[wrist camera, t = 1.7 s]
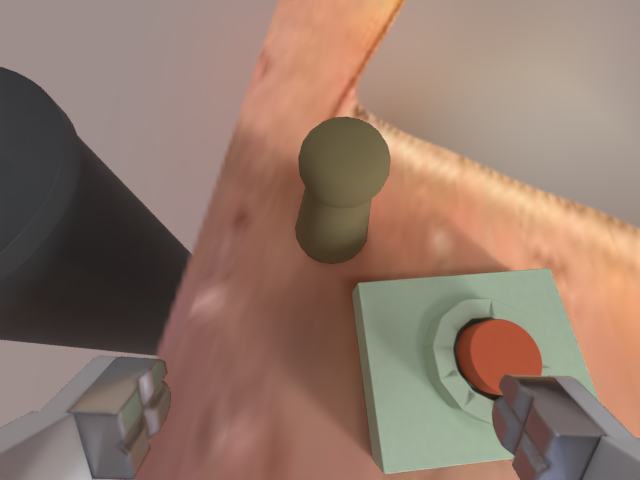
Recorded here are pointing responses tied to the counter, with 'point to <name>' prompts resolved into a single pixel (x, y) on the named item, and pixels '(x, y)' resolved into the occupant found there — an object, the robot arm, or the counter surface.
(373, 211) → the counter surface
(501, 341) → the release button
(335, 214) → the cork
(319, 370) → the counter surface
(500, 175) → the counter surface
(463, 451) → the button base
